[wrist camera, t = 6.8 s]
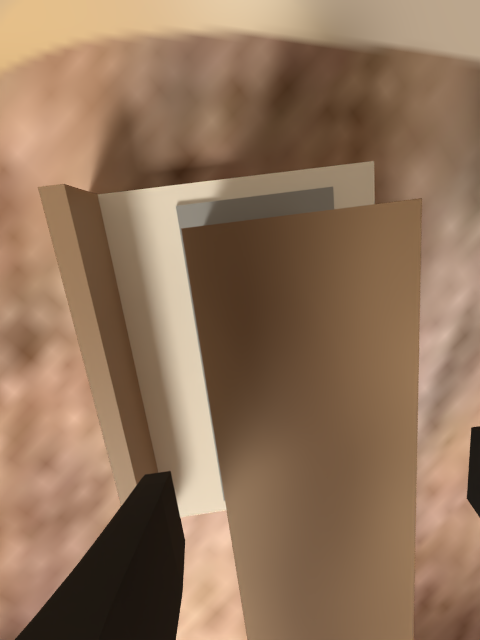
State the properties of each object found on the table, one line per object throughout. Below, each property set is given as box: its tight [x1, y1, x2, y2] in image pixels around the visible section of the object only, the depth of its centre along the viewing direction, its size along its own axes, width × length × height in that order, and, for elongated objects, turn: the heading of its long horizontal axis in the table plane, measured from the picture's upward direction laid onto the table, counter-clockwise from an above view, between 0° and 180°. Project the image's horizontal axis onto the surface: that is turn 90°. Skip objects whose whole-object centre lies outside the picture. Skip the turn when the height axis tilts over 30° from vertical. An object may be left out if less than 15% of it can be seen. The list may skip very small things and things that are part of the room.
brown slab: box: [181, 198, 422, 640], centre depth 11 cm, size 4×12×8 cm, turn 7°
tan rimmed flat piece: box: [38, 161, 375, 517], centre depth 15 cm, size 12×16×4 cm
